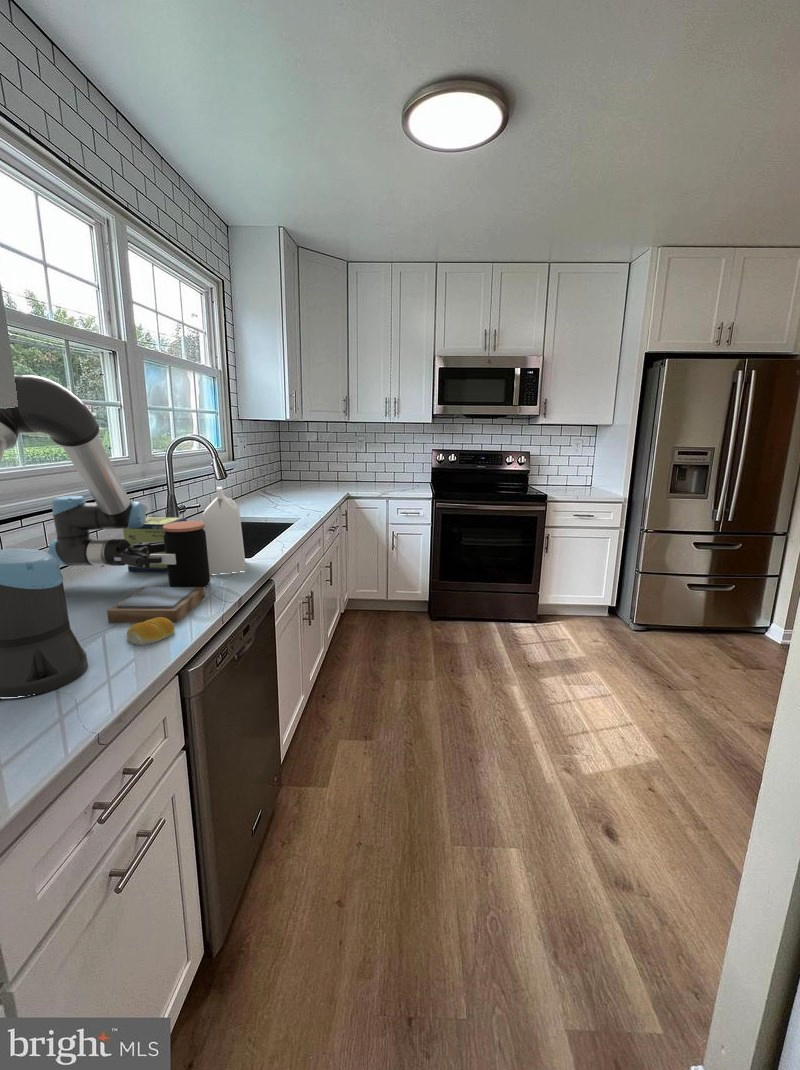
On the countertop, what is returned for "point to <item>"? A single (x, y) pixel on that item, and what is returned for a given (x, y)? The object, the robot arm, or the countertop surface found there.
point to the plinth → (157, 604)
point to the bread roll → (150, 631)
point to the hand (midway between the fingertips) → (186, 552)
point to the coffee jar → (187, 554)
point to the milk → (224, 535)
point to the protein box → (149, 538)
